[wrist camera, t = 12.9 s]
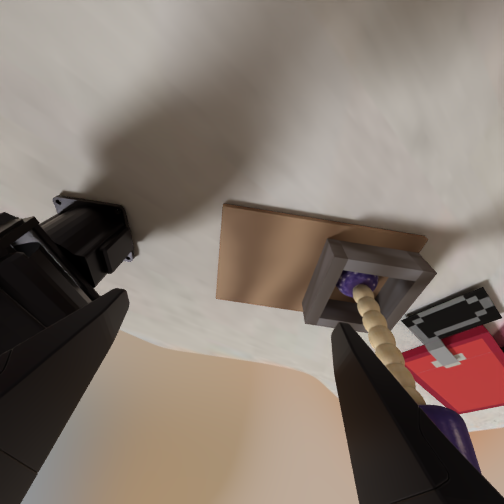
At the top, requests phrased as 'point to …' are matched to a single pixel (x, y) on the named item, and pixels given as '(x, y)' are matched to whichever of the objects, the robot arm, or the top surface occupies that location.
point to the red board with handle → (458, 353)
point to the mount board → (316, 265)
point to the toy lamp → (401, 359)
